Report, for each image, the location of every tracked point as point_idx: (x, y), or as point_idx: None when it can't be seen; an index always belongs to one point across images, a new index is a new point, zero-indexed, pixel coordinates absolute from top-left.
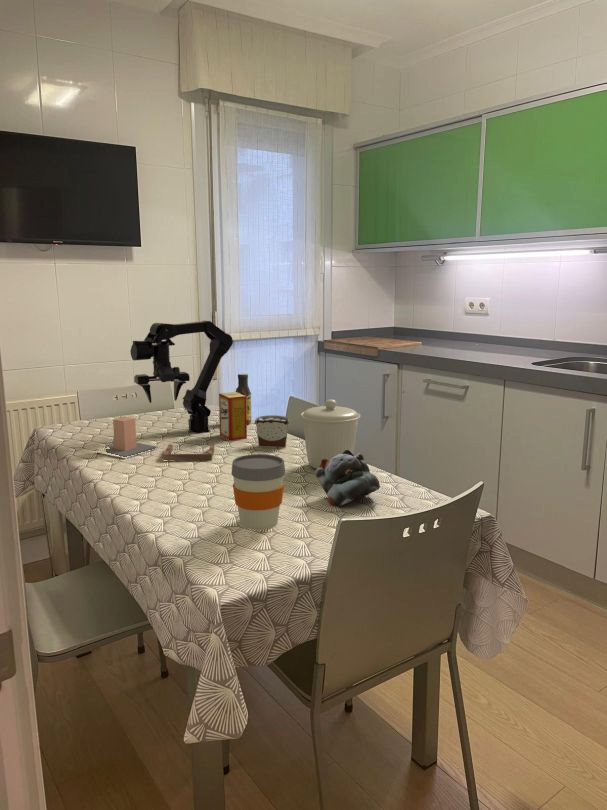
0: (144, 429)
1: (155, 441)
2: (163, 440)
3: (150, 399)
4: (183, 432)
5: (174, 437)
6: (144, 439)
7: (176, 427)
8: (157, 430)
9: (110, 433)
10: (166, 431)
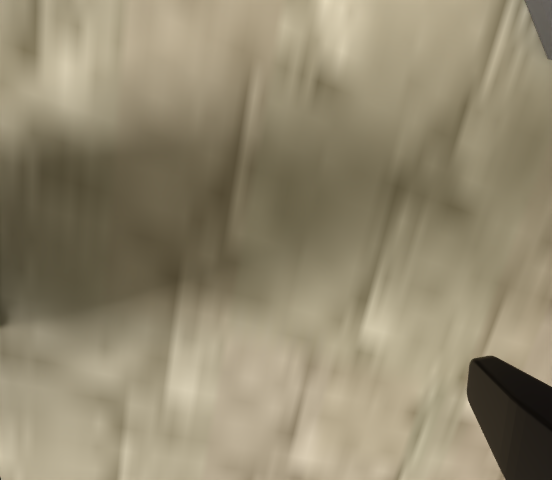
0: (317, 415)
1: (320, 39)
2: (245, 49)
3: (530, 393)
4: (41, 272)
5: (133, 127)
6: (387, 146)
7: (92, 421)
8: (239, 375)
9: (532, 370)
10: (179, 335)
